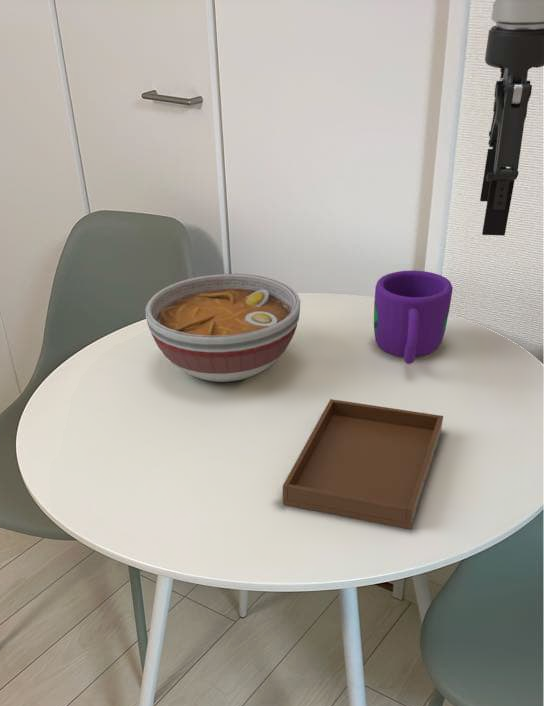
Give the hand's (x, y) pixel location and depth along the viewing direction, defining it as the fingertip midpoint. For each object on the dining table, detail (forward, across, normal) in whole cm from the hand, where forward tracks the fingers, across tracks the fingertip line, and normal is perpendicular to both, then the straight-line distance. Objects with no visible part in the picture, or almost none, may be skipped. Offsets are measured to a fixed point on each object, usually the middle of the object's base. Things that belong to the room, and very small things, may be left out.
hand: (491, 217), depth 100 cm
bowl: (+22, +5, -36) cm, 43 cm away
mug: (+22, -2, -9) cm, 23 cm away
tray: (+21, +29, -13) cm, 38 cm away
